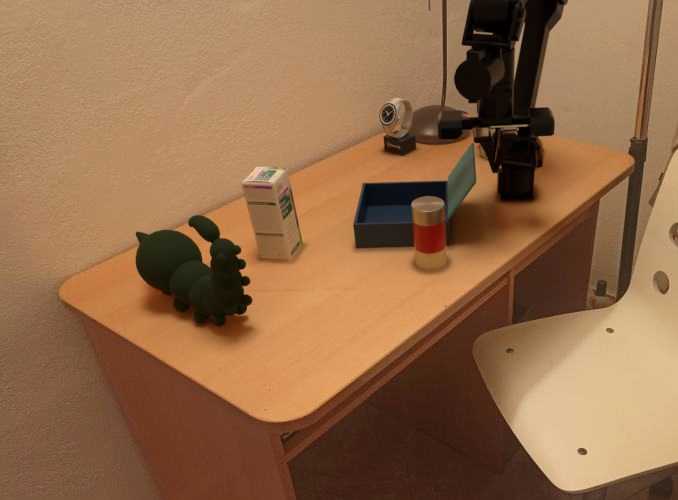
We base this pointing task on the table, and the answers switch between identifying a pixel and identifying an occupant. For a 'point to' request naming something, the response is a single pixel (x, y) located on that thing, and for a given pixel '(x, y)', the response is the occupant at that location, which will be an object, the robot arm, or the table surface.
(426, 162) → the table surface
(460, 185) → the lid
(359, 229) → the dark blue open box
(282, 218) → the syrup box
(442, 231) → the can
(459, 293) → the table surface
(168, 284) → the toy figurine
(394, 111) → the watch
